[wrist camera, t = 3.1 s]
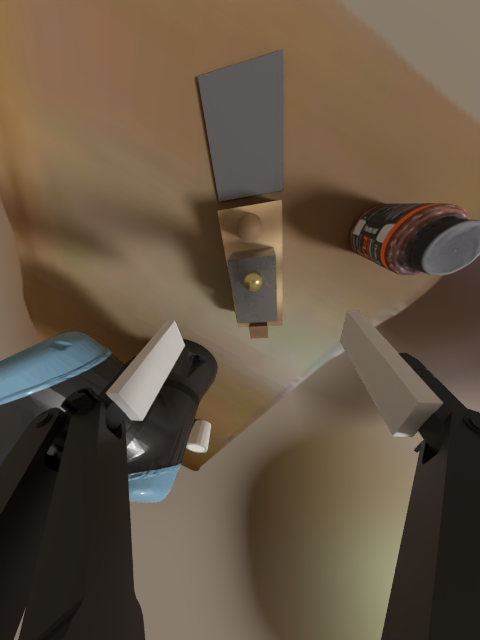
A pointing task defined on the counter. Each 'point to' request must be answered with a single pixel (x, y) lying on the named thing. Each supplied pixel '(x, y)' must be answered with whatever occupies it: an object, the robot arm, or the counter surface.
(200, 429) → the white cup
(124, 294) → the counter surface
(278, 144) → the mat
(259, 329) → the body
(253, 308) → the lever cap
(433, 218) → the supplement bottle
